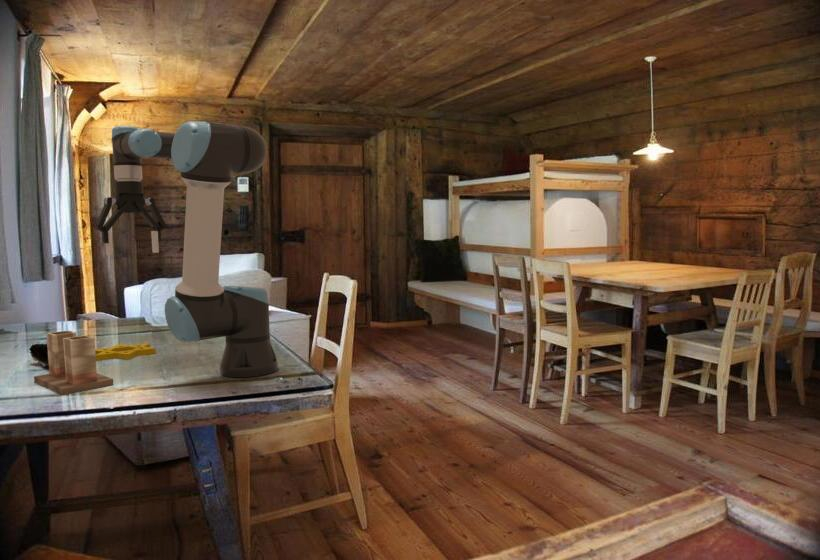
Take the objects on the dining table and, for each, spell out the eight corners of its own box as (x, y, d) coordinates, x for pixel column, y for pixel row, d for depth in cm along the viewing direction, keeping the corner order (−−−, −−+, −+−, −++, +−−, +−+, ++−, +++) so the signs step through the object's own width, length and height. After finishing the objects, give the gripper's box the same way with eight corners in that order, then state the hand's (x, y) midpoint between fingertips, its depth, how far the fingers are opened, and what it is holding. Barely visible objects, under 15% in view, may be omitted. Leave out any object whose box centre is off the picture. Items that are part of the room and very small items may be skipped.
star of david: (159, 357, 195) (158, 350, 195) (96, 365, 186) (96, 357, 185) (147, 347, 212) (147, 340, 211) (89, 354, 202) (89, 347, 202)
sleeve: (88, 377, 162) (85, 335, 161) (97, 380, 159) (94, 337, 158) (66, 381, 158) (63, 338, 157) (74, 385, 155) (71, 340, 154)
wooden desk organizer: (113, 384, 160) (110, 335, 159) (62, 395, 152) (58, 343, 150) (83, 373, 174) (79, 328, 173) (34, 382, 165) (30, 334, 164)
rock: (49, 384, 177) (105, 368, 187) (43, 353, 174) (100, 338, 184) (30, 364, 189) (83, 349, 199) (24, 334, 186) (78, 321, 196)
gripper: (163, 183, 197) (167, 251, 199) (78, 180, 179) (83, 255, 181) (175, 181, 192) (179, 251, 194) (89, 178, 174) (94, 256, 176)
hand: (133, 253), depth 188 cm, fingers open, 13 cm apart
